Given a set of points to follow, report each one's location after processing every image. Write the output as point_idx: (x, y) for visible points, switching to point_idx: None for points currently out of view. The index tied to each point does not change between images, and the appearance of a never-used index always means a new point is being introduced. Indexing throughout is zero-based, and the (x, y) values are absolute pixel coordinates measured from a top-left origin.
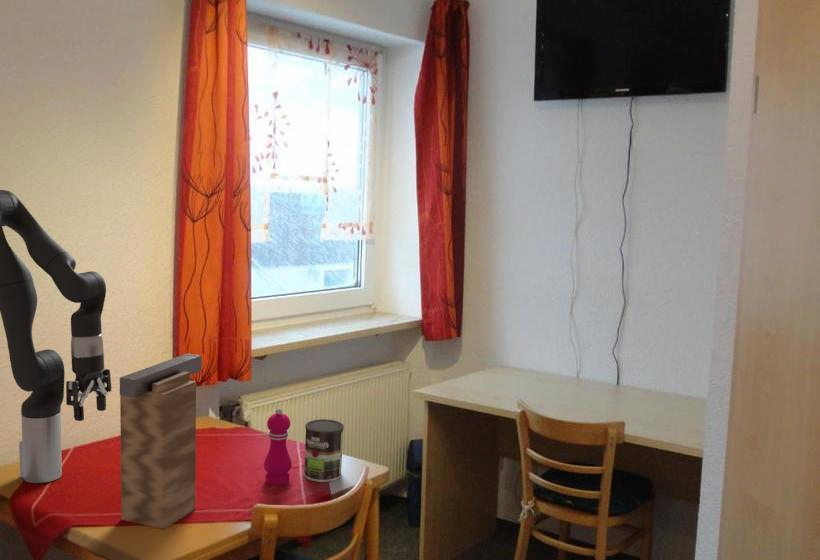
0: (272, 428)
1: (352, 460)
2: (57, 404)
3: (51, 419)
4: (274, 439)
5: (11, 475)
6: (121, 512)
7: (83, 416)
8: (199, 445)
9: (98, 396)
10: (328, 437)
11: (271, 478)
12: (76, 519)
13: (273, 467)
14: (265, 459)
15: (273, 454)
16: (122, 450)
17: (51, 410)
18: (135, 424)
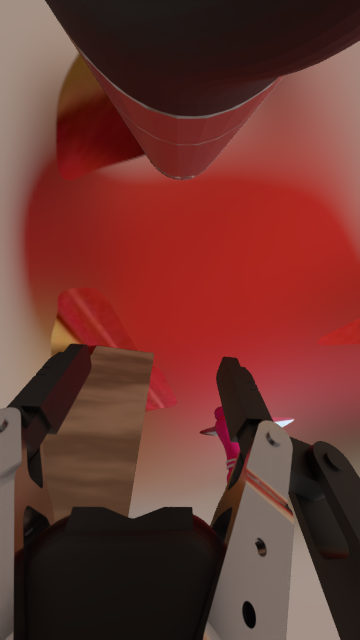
0: (227, 478)
1: None
2: (192, 65)
3: (131, 105)
4: (226, 461)
5: None
6: (93, 351)
7: (81, 382)
8: (337, 336)
9: (243, 425)
10: None
11: (216, 415)
12: (66, 304)
13: (216, 429)
14: (225, 429)
15: (222, 441)
16: (43, 441)
17: (107, 58)
18: None
